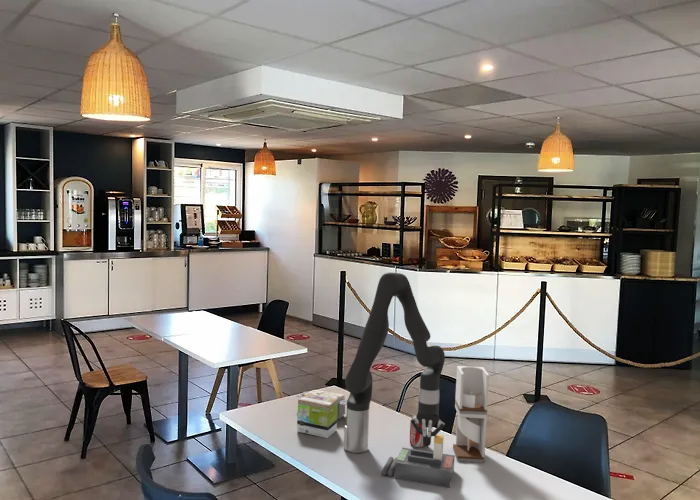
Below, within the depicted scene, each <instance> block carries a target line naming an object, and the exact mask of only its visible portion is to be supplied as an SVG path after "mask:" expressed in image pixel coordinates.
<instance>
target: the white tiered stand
mask: <svg viewBox="0 0 700 500" xmlns="http://www.w3.org/2000/svg"><path fill="white" fill-rule="evenodd" d="M489 381H490V375H489V373H488V371H487V370H486V369H485V367H484V366H468V365H467V366H466V365H464V366H463V365H457V366H456V381H455V396H454V398H455V401H454V408H455V410H456V413H457V416H456V437H455V444H454V443H453V444H452V451H453V453H454V455H455V460H456V462H469V463H470V462H471V463H485V453H486V440H487V439H486V437H487V436H486V435H487V418H488V417H487V416H488V398H489Z"/></svg>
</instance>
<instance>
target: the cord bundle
mask: <svg viewBox="0 0 700 500" xmlns="http://www.w3.org/2000/svg"><path fill="white" fill-rule="evenodd" d="M397 458H398V457H395V458H394V457H393V456H389V457H388V459H387V461H386V462H385V464H384V467H383V468H382V470H381V475H382V476H388V477H392V476H393V475H394V474H395V462H396V460H397Z"/></svg>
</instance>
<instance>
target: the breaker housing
mask: <svg viewBox="0 0 700 500" xmlns="http://www.w3.org/2000/svg"><path fill="white" fill-rule="evenodd" d="M396 458H397V460H396V462H395V471H394V479H396V480H402V481H407V482H414V483H420V484H426V485H432V486H437V487H444V488H448V489H449V488H451V483H452V480H453V479H452V478H453V476H454V471H455V460H456V457H455V454H454V455H453V454H447V453H443V457H442V462H441V460H438V459H433V451H428V450H421V449H416V448H415V449H414V448H408V447H402V448H401V449H400V451H399V454H398V455H397V457H396Z"/></svg>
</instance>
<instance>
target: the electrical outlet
mask: <svg viewBox="0 0 700 500" xmlns="http://www.w3.org/2000/svg"><path fill="white" fill-rule="evenodd" d="M307 394H313V395H319V396H324V397H329V398H334V399H338V408H337V420H339V419H342V418H343V417H344V415H346V406H347V400H348V399H346V398H345V396H346V395H345V394H344V393H336V392H330V391H325V390H318V389H313V390H309V391H303V392H302V393H300V394H296V395H295V397H297V398H302V397H304V396H305V395H307Z"/></svg>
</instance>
